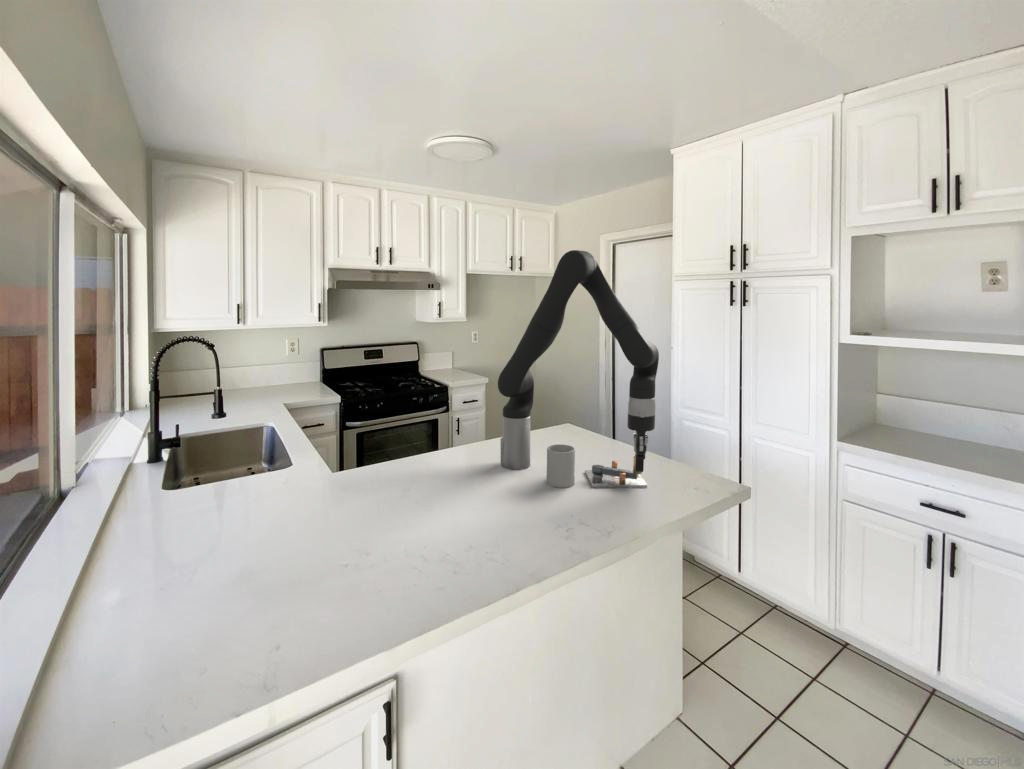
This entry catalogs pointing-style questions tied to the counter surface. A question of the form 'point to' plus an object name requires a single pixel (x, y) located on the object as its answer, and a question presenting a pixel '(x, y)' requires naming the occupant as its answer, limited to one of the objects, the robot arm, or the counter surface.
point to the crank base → (613, 480)
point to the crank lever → (615, 471)
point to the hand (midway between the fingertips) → (639, 470)
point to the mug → (560, 466)
